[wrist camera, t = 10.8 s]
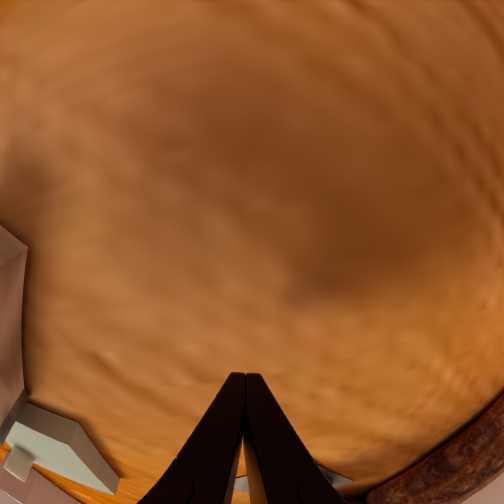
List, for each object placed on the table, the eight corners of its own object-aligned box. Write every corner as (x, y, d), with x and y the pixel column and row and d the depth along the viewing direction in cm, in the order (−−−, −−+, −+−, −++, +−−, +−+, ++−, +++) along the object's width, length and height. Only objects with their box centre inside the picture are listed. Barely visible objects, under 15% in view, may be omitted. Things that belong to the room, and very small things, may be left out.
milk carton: (87, 506, 27) (21, 457, 20) (79, 535, 21) (6, 492, 14) (59, 495, 28) (-5, 443, 20) (51, 521, 21) (-20, 474, 14)
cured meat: (275, 505, 19) (280, 560, 13) (513, 342, 12) (565, 408, 5) (376, 503, 24) (385, 540, 18) (532, 388, 16) (557, 426, 10)
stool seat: (78, 422, 13) (53, 481, 9) (119, 478, 17) (108, 521, 12) (-25, 375, 13) (-51, 411, 8) (23, 440, 17) (7, 472, 12)
